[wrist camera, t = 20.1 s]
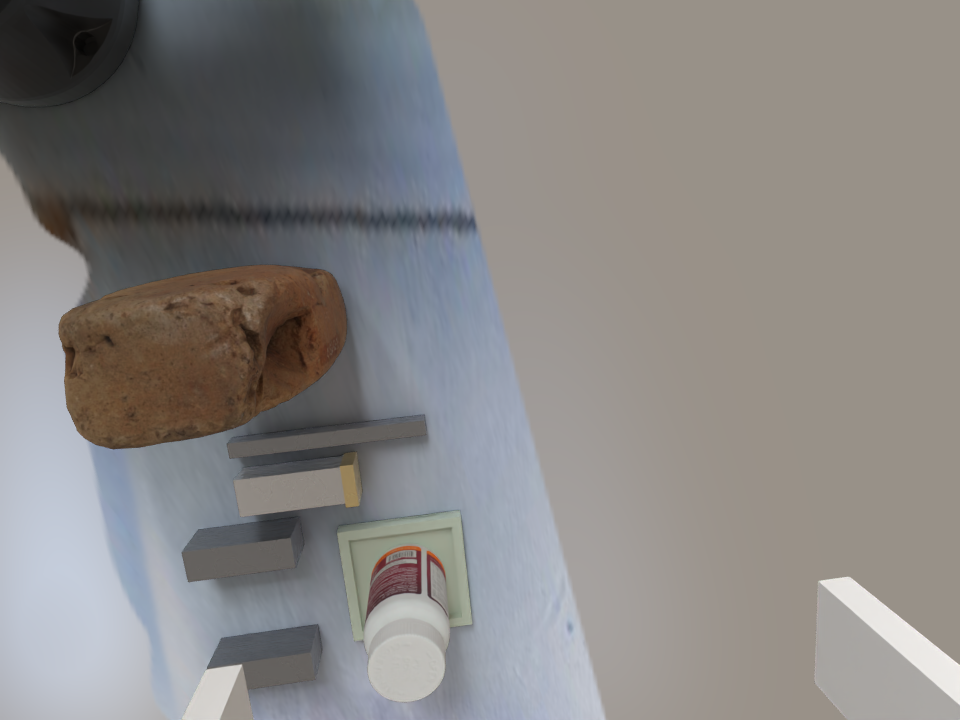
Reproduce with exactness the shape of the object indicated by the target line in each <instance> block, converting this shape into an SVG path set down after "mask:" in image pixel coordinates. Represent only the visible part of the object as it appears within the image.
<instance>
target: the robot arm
mask: <svg viewBox="0 0 960 720" xmlns="http://www.w3.org/2000/svg"><path fill="white" fill-rule="evenodd" d="M137 16H138V0H0V102H4V103H8V104H12V105H18V106H26V107H46V106H54V105H59V104H63V103H67V102H70V101H73V100H76V99H78V98H80V97H83V96H85V95H87V94H88V93H90V92H92V91H93V90H95V89H96V88H98V87H99V86H100V85H101V84H103V83H104V82H105V81H106V80H107V79H108V78H109V77H110V76H111V75H112V74H113V73H114V72H115V70H116V69H117V68H118V66H119V65H120V64H121V62H122V60H123V59H124V57H125V55H126V53H127V51H128V49H129V47H130V44H131V42H132V39H133V36H134V32H135V28H136V23H137ZM814 682H815V684H816V685H817V686H818V687H819V688H820V689H821V690H822V692H823V693H824V694H825V695H826V696H827V697H828V698H829V699H830V701H831V702H832V703H833V704H834V705H835V706H836V708H837V709H838V710H839V711H840V712H841V713H842V714H843V716H844V717H845V718H846V719H847V720H960V665H959V664H957V663H956V662H955V661H954V660H952V659H951V658H950V657H949V656H947V655H946V654H945V653H944V652H942V651H941V650H940V649H939V648H937V647H936V646H935V645H934V644H933V643H931V642H930V641H929V640H928V639H926V638H925V637H924V636H923V635H921V634H920V633H919V632H917V631H916V630H915V629H914V628H912V627H911V626H910V625H909V624H908V623H906V622H905V621H904V620H903V619H901V618H900V617H899V616H898V615H896V614H895V613H894V612H893V611H891V610H890V609H889V608H887V607H886V606H885V605H884V604H883V603H881V602H880V601H879V600H878V599H876V598H875V597H874V596H873V595H871V594H870V593H869V592H868V591H866V590H865V589H864V588H863V587H861V586H860V585H859V584H858V583H857V582H855V581H854V580H853V579H852V578H850V577H843V578H836V579H830V580H822V581H818V600H817V627H816V655H815V681H814ZM181 720H254V719H253V715H252V710H251V705H250V700H249V695H248V690H247V685H246V680H245V675H244V671H243V666H242V664H241V665H234V666H227V667H220V668H213V669H207V670H205V672H204V674H203V676H202V679H201V681H200V683H199V685H198V687H197V689H196V691H195V693H194V695H193V697H192V699H191V701H190V703H189V705H188V707H187V709H186V711H185V713H184V715H183V717H182V719H181Z"/></svg>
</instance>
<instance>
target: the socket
mask: <svg viewBox="0 0 960 720" xmlns="http://www.w3.org/2000/svg"><path fill="white" fill-rule="evenodd" d="M303 546H304V541H303V535H302V529H301V523H300V517H293V518H285V519H277V520H270V521H262V522H254V523H246V524H238V525H231V526H223V527H215V528H207V529H200V530H198V531H197V532H196V534H195V535H194V536H193V538H192V539H191V540H190V542H189V543H188V544H187V546H186V547H185V548H184V550H183V551H182V557H183V561H184V566H185V570H186V575H187V579H188V582H193V581H201V580H208V579H216V578H223V577H230V576H238V575H245V574H253V573H260V572H267V571H275V570H282V569H290V568H296V565H297V562H298V560H299V557H300V554H301V552H302V549H303ZM321 653H322V645H321V640H320V634H319V628H318V624H317V625H310V626H303V627H296V628H289V629H282V630H275V631H268V632H261V633H254V634H247V635H240V636H233V637H226V638H221V640H220V642H219V644H218V646H217V648H216V650H215V652H214V654H213V657H212V659H211V661H210V663H209V665H208V667H207V669H213V668H220V667H227V666H234V665H241V664H242V666H243V671H244V675H245V680H246V685H247V690H249V689H256V688H262V687H269V686H276V685H282V684H289V683H296V682H303V681H309V680H315V679H316V675H317V670H318V666H319V662H320V658H321Z"/></svg>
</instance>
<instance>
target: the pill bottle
mask: <svg viewBox="0 0 960 720" xmlns="http://www.w3.org/2000/svg"><path fill="white" fill-rule="evenodd" d="M449 639H450V624H449V613H448V600H447V588H446V576H445V570H444V566H443V564H442V562H441V560H440V558H439V557H438V556H437V555H436V554H435V553H434V552H433V551H431V550H430V549H428V548H426V547H424V546H421V545H417V544H402V545H398V546H395V547H393V548H391V549H389V550H388V551H386V552H385V553H384V554H383V555H382V556H381V557H380V558H379V559H378V560H377V562H376V564H375V565H374V568H373V571H372V575H371V581H370V589H369V598H368V605H367V613H366V620H365V626H364V646H365V650H366V653H367V655H368V666H367V671H368V677H369V681H370V683H371V685H372V686H373V688H374V689H375V690H376V691H377V692H378V693H379V694H380V695H381V696H383V697H385V698H387V699H389V700H392V701H396V702H413V701H417V700H420V699H422V698H424V697H426V696H428V695H430V694H431V693H432V692H433V691H434V690H435V689H436V688H437V687H438V686H439V684H440V683H441V681H442V679H443V677H444V674H445V667H446V661H445V655H446V649H447V647H448V644H449Z"/></svg>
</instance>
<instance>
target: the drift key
mask: <svg viewBox="0 0 960 720" xmlns="http://www.w3.org/2000/svg"><path fill="white" fill-rule="evenodd" d="M233 483H234V488H235V493H236V498H237V504H238V509H239V514H240V517H245V516H253V515H261V514H269V513H276V512H284V511H292V510H300V509H308V508H316V507H323V506H331V505H339V504H345V505H346V508H348V507H355V506H359V504H360V500H361V495H362V484H361V477H360V470H359V464H358V457H357V452H349V453H344V455H343V456H336V457H327V458H319V459H311V460H303V461H294V462H286V463H278V464H270V465H262V466H253V467H245V468H242V469H241V471H240V472H239V473H238V475H237V476H236V477H235V479H234V480H233Z"/></svg>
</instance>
